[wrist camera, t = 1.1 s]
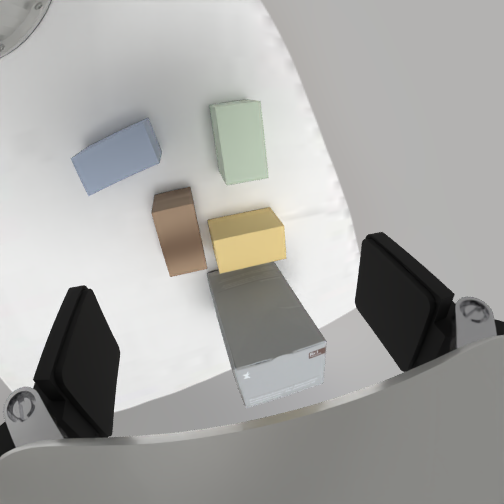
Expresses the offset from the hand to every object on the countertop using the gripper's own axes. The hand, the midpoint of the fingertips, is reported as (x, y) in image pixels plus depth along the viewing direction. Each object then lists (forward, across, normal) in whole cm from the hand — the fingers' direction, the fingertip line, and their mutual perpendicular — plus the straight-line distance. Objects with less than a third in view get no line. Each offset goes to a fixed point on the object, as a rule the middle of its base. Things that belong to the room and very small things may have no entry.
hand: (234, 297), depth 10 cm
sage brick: (+23, -4, -2) cm, 23 cm away
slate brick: (+22, +7, -3) cm, 24 cm away
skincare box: (+23, -3, +16) cm, 28 cm away
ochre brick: (+23, -4, +8) cm, 25 cm away
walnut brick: (+23, +3, +6) cm, 24 cm away
